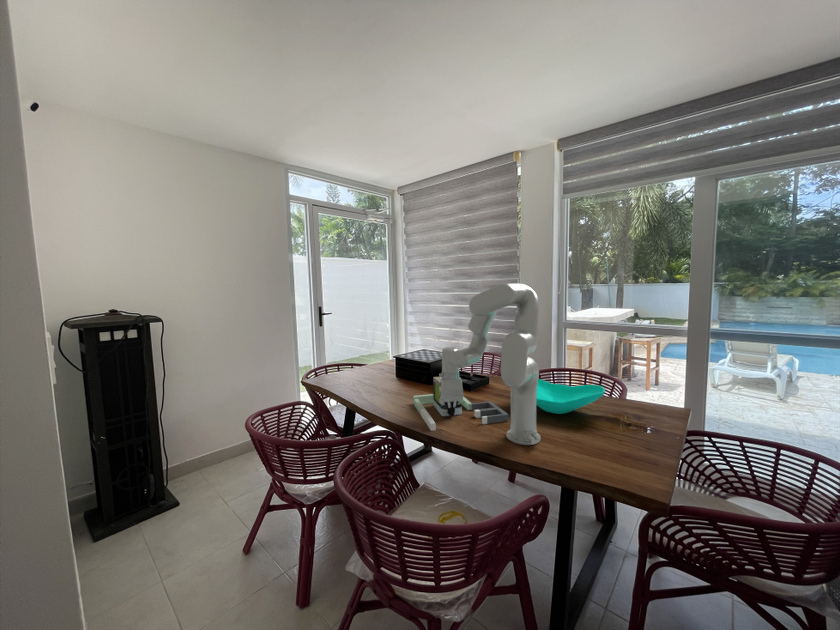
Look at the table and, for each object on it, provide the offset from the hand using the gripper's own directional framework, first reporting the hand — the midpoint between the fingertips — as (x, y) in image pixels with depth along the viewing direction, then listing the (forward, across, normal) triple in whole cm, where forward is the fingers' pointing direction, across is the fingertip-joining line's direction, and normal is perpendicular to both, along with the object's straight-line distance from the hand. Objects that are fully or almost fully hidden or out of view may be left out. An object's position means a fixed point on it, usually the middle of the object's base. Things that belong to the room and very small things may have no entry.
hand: (451, 415), depth 150 cm
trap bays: (+1, +18, -3) cm, 18 cm away
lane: (+1, 0, +6) cm, 6 cm away
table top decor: (+1, +49, -7) cm, 50 cm away
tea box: (+1, +1, +9) cm, 9 cm away
